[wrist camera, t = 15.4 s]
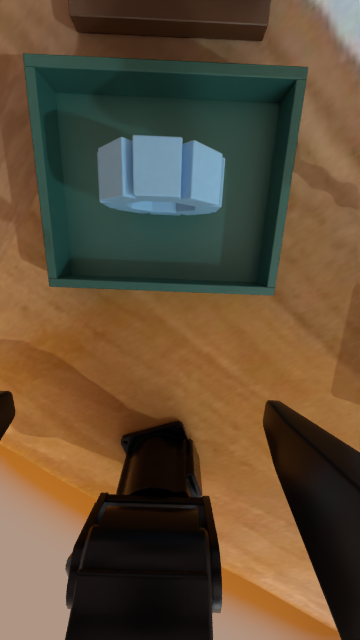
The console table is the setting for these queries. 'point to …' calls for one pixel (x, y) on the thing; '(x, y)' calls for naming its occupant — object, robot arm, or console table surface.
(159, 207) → the blue segmented ring
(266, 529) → the console table surface
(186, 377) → the console table surface
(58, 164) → the tray
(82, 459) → the console table surface
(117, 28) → the hook rack
